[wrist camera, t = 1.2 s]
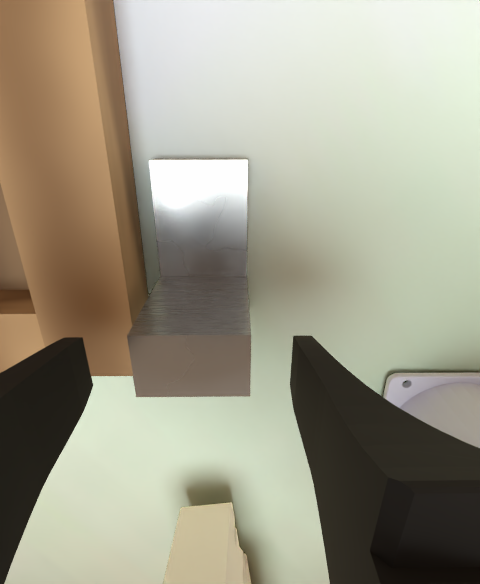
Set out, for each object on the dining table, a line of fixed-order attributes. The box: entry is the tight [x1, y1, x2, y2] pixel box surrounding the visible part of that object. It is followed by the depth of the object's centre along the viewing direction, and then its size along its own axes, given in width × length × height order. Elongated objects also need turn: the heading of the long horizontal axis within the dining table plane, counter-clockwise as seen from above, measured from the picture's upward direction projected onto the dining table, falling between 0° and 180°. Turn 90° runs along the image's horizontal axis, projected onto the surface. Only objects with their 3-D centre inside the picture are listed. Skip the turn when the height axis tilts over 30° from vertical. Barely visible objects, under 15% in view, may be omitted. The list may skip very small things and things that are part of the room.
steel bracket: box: [127, 158, 251, 397], centre depth 14 cm, size 4×8×6 cm, turn 0°
